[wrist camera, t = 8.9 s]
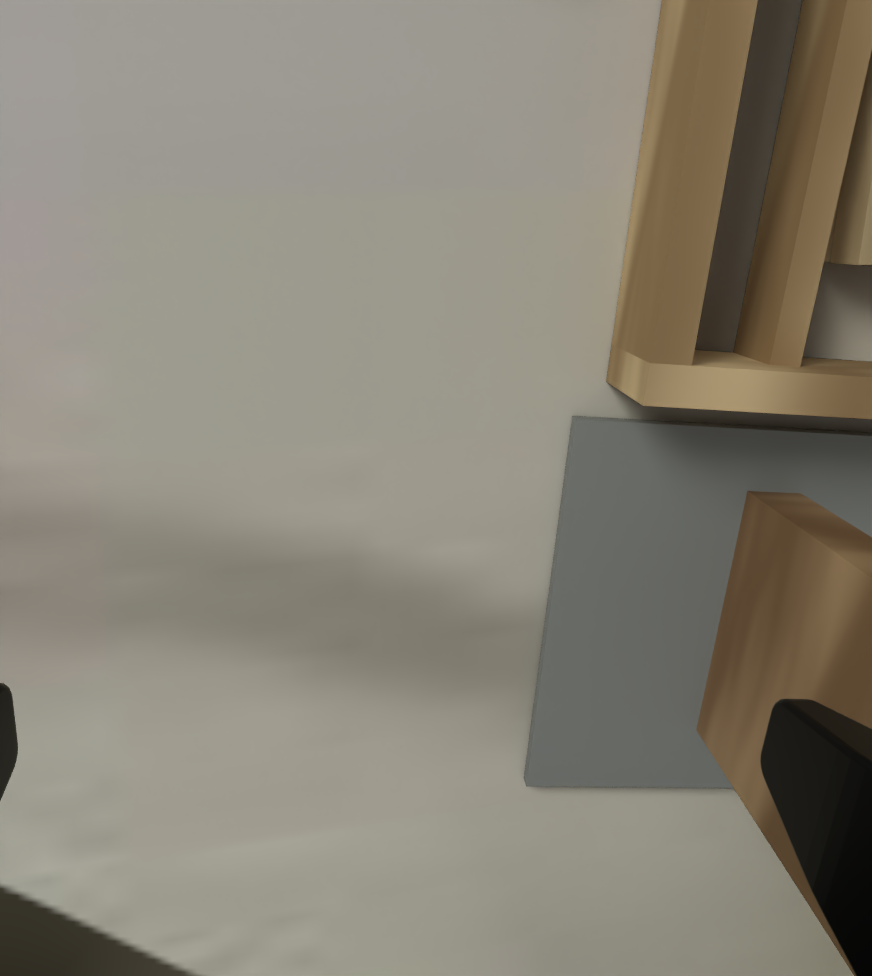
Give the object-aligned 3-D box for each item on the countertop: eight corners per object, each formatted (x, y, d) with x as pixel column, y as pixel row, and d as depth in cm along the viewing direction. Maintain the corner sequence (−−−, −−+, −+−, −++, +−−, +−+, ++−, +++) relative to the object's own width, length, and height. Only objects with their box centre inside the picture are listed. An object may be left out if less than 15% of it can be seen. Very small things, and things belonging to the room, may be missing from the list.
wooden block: (800, 493, 22) (1126, 695, 12) (744, 730, 24) (979, 1049, 15) (747, 490, 22) (1036, 693, 12) (696, 730, 24) (903, 1051, 15)
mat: (977, 438, 22) (987, 442, 22) (872, 781, 26) (879, 789, 26) (572, 415, 21) (576, 419, 21) (523, 777, 25) (526, 786, 24)
